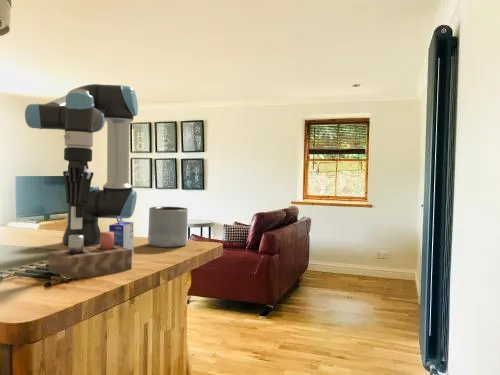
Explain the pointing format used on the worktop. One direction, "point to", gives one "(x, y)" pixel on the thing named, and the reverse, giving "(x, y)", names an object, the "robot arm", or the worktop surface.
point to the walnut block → (90, 261)
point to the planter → (167, 227)
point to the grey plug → (76, 244)
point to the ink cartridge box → (122, 234)
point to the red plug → (106, 241)
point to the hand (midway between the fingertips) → (76, 228)
